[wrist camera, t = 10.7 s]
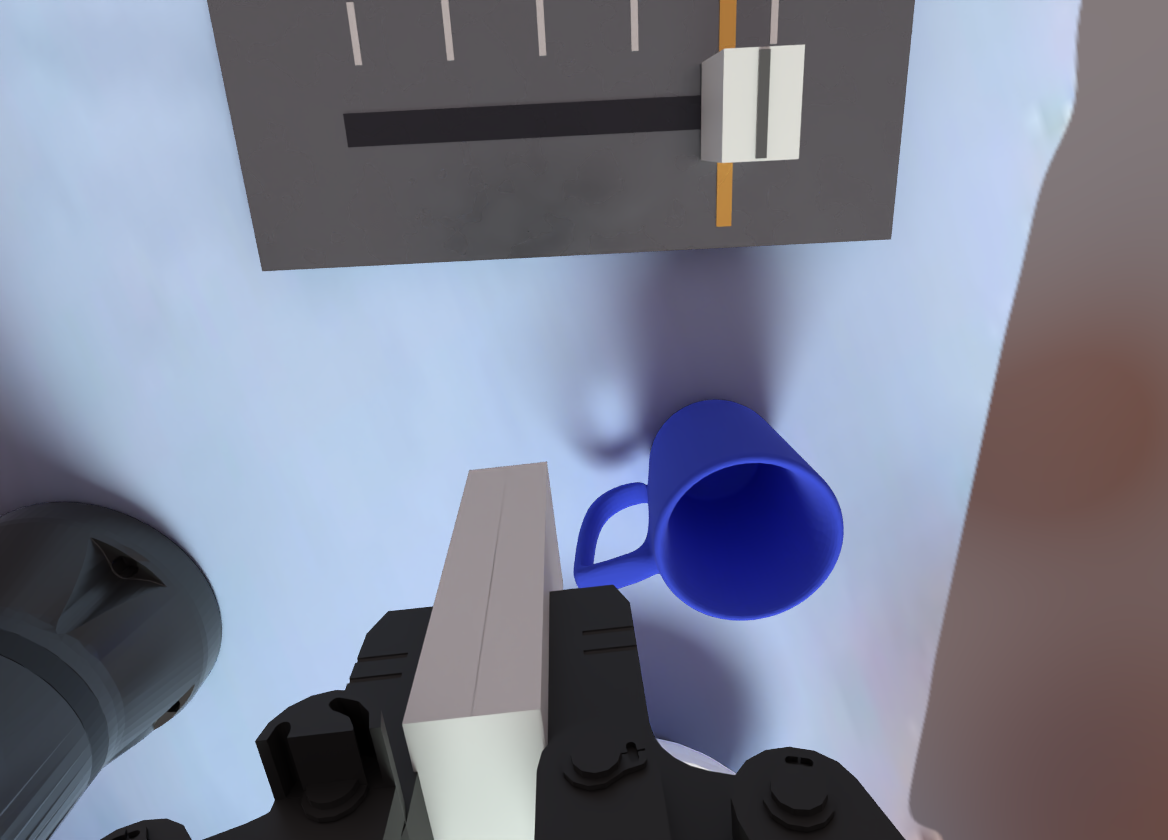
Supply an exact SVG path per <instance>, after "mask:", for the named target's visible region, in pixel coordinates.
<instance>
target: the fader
mask: <svg viewBox="0 0 1168 840" xmlns="http://www.w3.org/2000/svg"><path fill="white" fill-rule="evenodd" d="M804 54H805V45H786V46H767V47H748V48H728V49H723V50H721V51H720V52H718V53H716V54H715V55H713V56H711V57H710V58H708V59H707V60H705V61H703V62H702V88H701V160H704V161H711V162H718V163H732V162H751V161H771V160H790V159H799V147H800V128H801V109H802V91H803V72H804Z"/></svg>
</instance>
